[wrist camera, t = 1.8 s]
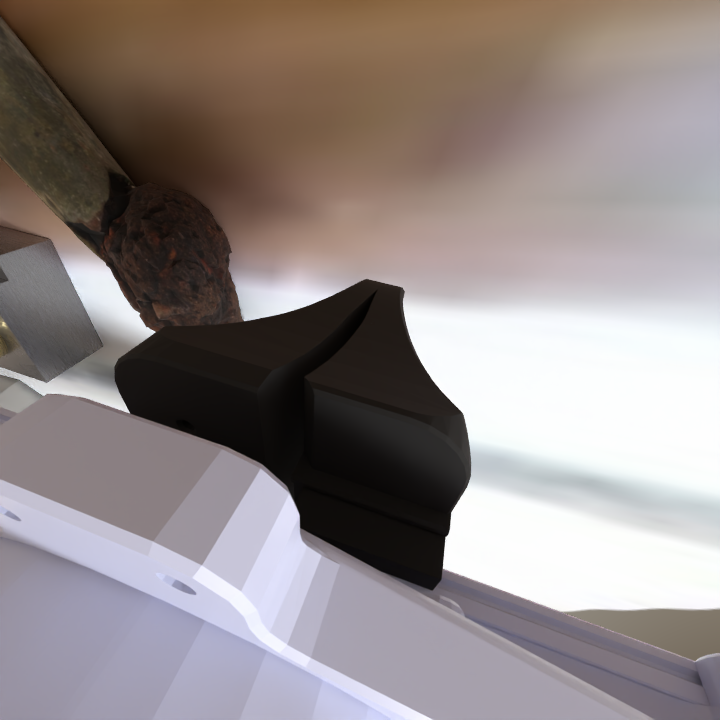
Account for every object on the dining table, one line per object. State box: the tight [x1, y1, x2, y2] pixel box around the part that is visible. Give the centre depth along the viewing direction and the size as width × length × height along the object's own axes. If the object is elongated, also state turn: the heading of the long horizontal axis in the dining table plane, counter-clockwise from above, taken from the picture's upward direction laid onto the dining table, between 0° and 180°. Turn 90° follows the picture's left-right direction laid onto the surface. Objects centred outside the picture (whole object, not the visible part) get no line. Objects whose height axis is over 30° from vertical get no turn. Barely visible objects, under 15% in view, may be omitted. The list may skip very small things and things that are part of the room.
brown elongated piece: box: [0, 16, 243, 332], centre depth 17 cm, size 18×7×6 cm, turn 36°
